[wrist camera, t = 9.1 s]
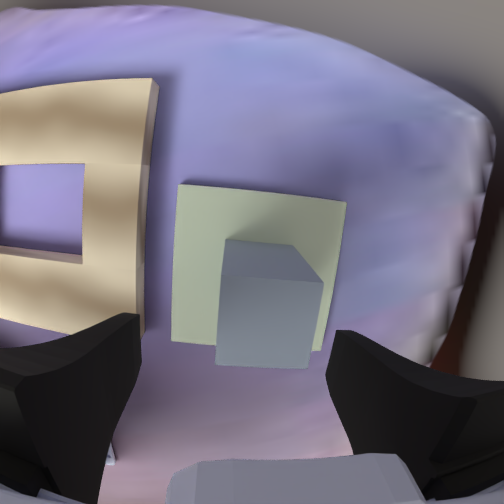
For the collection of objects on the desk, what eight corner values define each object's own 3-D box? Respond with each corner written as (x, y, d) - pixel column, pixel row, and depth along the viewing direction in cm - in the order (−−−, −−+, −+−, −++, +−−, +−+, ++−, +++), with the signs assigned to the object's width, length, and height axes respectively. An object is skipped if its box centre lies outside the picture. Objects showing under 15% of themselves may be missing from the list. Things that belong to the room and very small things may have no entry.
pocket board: (145, 331, 21) (137, 345, 19) (-22, 299, 20) (-35, 307, 18) (159, 87, 17) (151, 78, 15) (-22, 105, 16) (-37, 103, 14)
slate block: (284, 307, 20) (307, 368, 13) (220, 302, 20) (214, 364, 13) (292, 245, 19) (324, 282, 12) (225, 239, 19) (220, 274, 12)
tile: (317, 345, 22) (320, 350, 21) (173, 335, 21) (171, 340, 20) (342, 201, 20) (347, 202, 19) (180, 183, 19) (178, 184, 18)
